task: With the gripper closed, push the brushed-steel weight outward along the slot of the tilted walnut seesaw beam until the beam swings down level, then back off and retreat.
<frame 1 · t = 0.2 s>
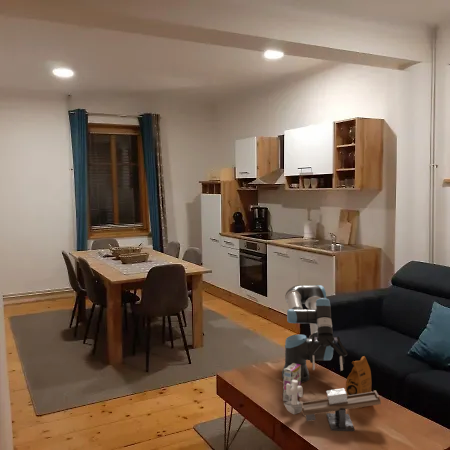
hand: (327, 369, 232), 16 cm above the table, tool tilted 35°, fingers open, 13 cm apart
steel weight: (338, 402, 210), point 9 cm above the table, tilted 10°, touching beam
candy bar box: (292, 398, 236), on the table
pivot stand: (340, 423, 211), on the table
beam: (340, 405, 210), point 8 cm above the table, hinge at 10.4°, touching steel weight
figurine: (294, 411, 222), on the table
coffee package: (358, 403, 231), on the table
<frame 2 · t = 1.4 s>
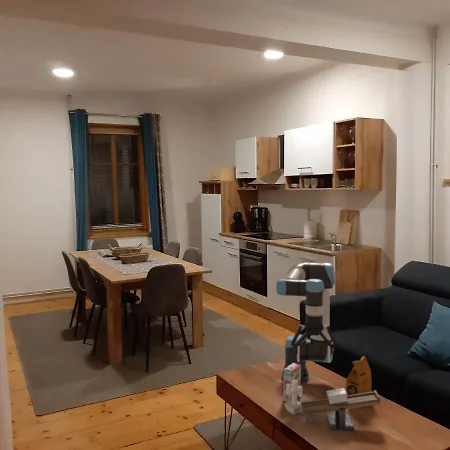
hand: (313, 361, 211), 28 cm above the table, tool pointing down, fingers open, 13 cm apart
nothing on the table moved.
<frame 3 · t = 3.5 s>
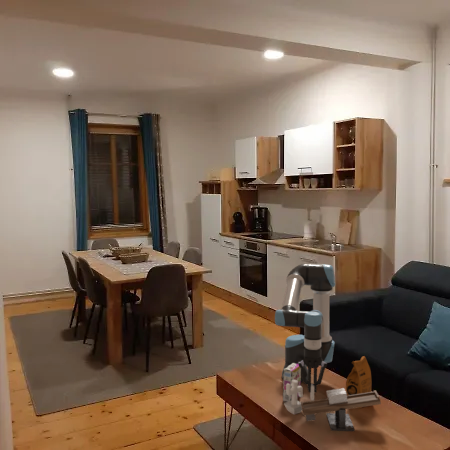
hand: (312, 399, 211), 11 cm above the table, tool pointing down, fingers closed
nothing on the table moved.
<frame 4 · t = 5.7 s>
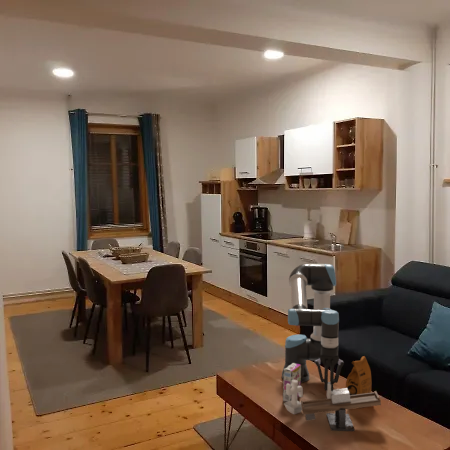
hand: (328, 397, 210), 12 cm above the table, tool pointing down, fingers closed
steel weight: (340, 402, 210), point 10 cm above the table, tilted 9°, touching gripper
beam: (340, 405, 210), point 8 cm above the table, hinge at 9.1°
everything else where it was.
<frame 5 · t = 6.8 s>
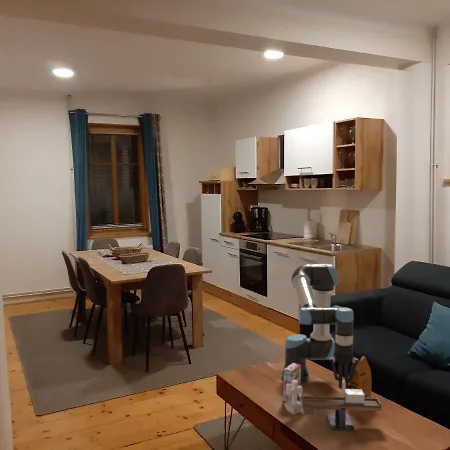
hand: (343, 395, 210), 13 cm above the table, tool pointing down, fingers closed
steel weight: (353, 402, 210), point 9 cm above the table, touching beam, gripper
beam: (340, 405, 210), point 8 cm above the table, hinge at -0.3°, touching steel weight
everything else where it was.
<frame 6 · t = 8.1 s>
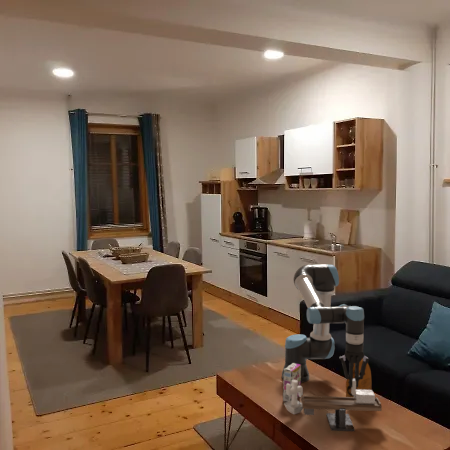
hand: (353, 393, 210), 14 cm above the table, tool pointing down, fingers closed
steel weight: (363, 403, 210), point 9 cm above the table, touching beam, gripper
everything else where it was.
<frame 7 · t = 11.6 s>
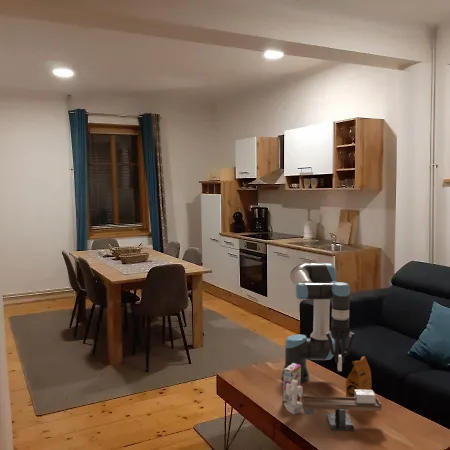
hand: (339, 369, 210), 24 cm above the table, tool pointing down, fingers closed
steel weight: (364, 403, 210), point 9 cm above the table, touching beam
everything else where it was.
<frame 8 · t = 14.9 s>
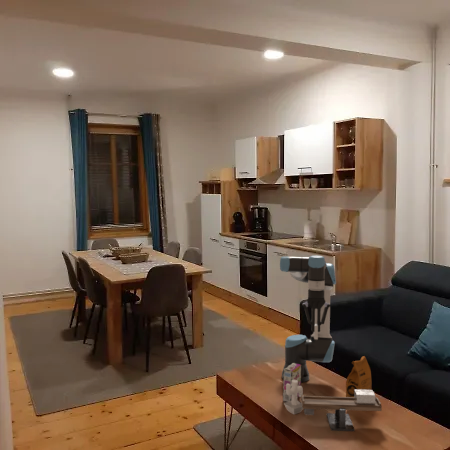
hand: (315, 338, 222), 34 cm above the table, tool pointing down, fingers closed
nothing on the table moved.
at the end: beam at +0° (first picture: +10°); steel weight inside the target area on the beam (0.7 cm from its centre), point 1.4 cm above the beam's base; steel weight tilted 0° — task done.
